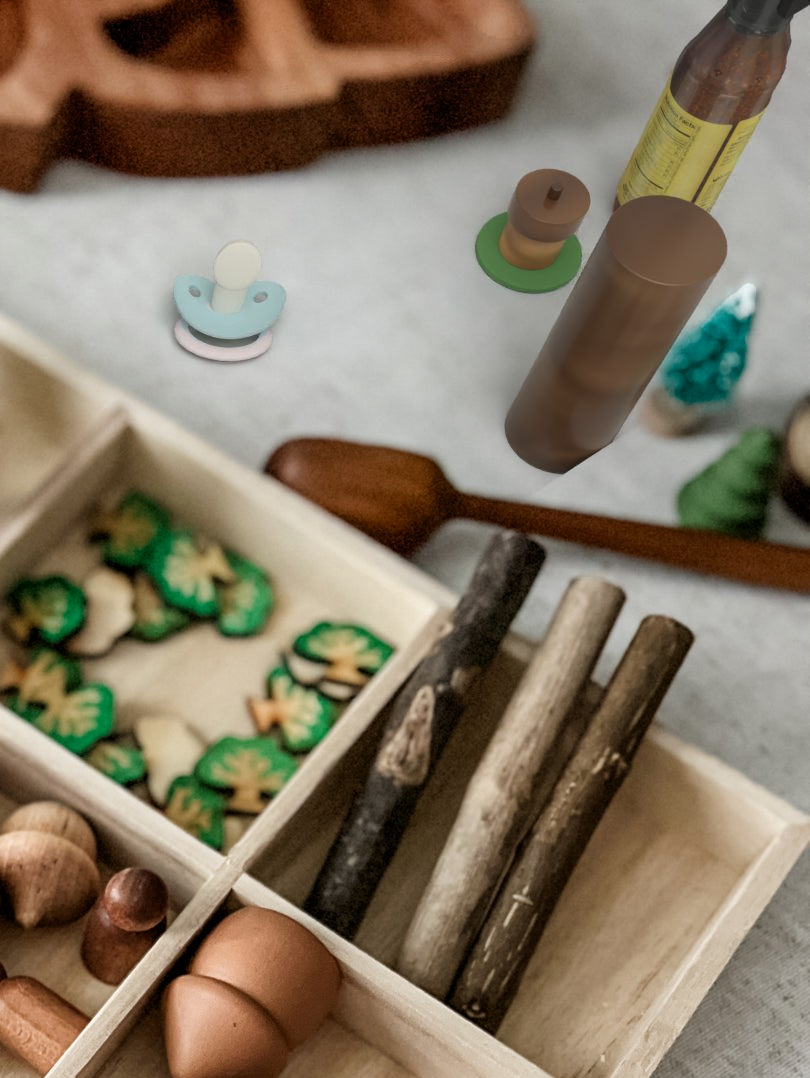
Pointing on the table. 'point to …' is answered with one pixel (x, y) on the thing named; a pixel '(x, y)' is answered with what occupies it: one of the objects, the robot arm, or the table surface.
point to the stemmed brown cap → (542, 217)
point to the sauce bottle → (710, 106)
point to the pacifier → (228, 304)
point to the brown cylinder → (615, 330)
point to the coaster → (521, 278)
